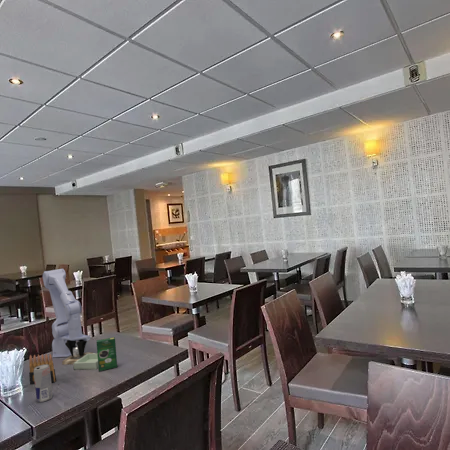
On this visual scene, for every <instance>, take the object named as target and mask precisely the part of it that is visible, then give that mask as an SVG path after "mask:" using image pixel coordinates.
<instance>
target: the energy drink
mask: <svg viewBox="0 0 450 450" xmlns="http://www.w3.org/2000/svg"><path fill="white" fill-rule="evenodd" d="M34 380H35V384H34V387H35V396H36V402H37V403H45V402H48V401H49V400H51V399H52V398H53V396H54V395H53V394H54V393H53V386H52V384H53V383H51V374H50V367H49V365H48V364H44V365H40V366H37V367H35V368H34Z"/></svg>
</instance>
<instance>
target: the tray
mask: <svg viewBox="0 0 450 450" xmlns="http://www.w3.org/2000/svg"><path fill="white" fill-rule="evenodd" d="M72 365H73V370H74V371H84V370H85V371H86V370H88V371H89V370H97V369H99V368H98V356H97V353H94V352H93V353H92V354H86V355H85V356H83V357H82V358H80V359H79V360H78V361H76V362H75V363H73V364H72Z"/></svg>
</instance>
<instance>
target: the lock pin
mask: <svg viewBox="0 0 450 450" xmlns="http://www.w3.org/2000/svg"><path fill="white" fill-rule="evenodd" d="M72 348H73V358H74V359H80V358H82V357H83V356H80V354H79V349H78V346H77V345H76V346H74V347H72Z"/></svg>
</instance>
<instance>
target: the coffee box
mask: <svg viewBox="0 0 450 450" xmlns="http://www.w3.org/2000/svg"><path fill="white" fill-rule="evenodd" d="M116 343H117V342H116V338H115V337H114V336H112V337H108V338H103V339H97V340H96V352H97V356H98V368H97V369H98V372H102V371H106V370H110V369H115V368H118V360H117V359H118V358H117V346H116V345H117V344H116Z"/></svg>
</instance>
